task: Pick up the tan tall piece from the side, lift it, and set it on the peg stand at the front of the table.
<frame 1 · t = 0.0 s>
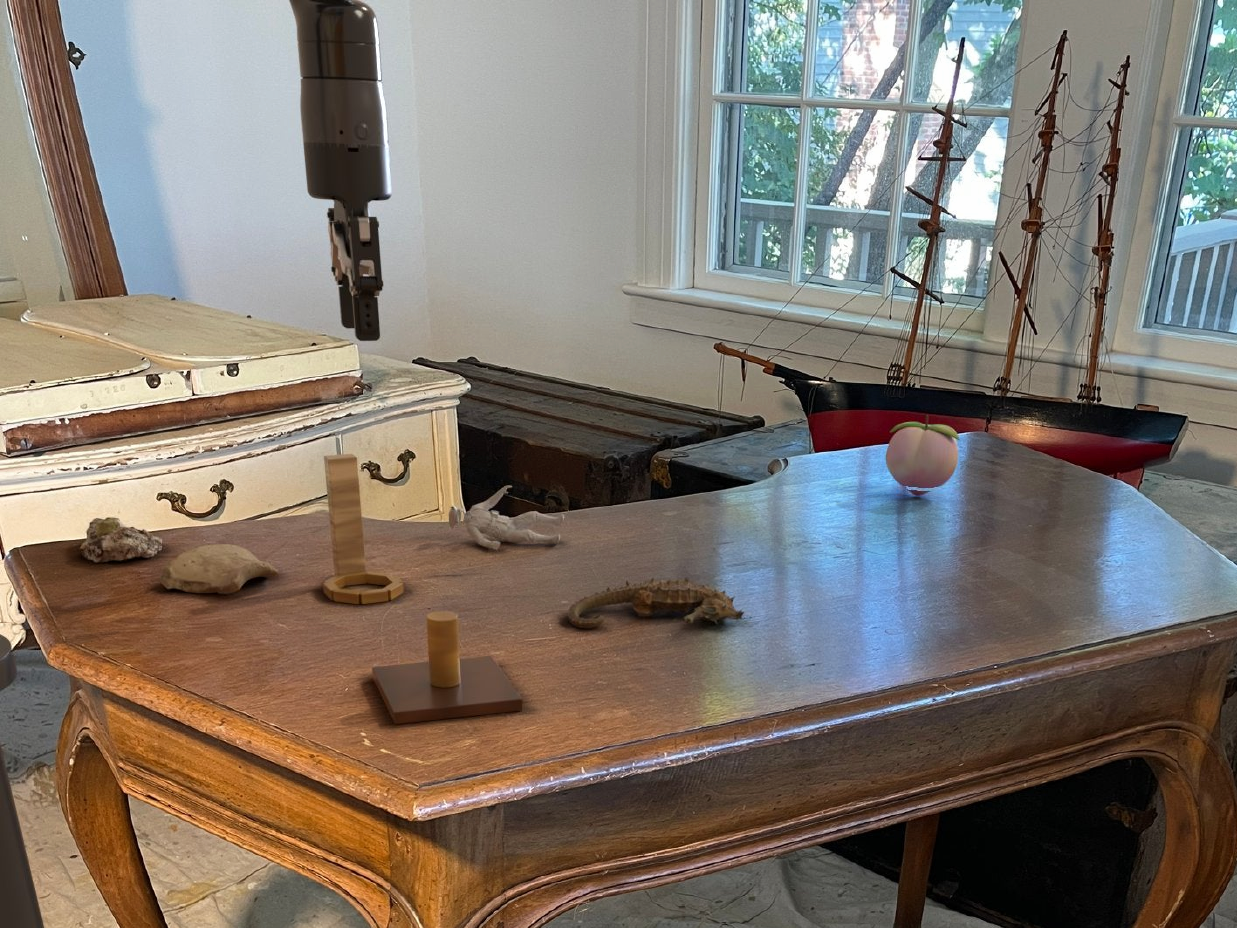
hand: (360, 334, 124), 22 cm above the table, tool pointing down, fingers open, 8 cm apart
pottery shard: (230, 585, 127), on the table
peg stand: (445, 694, 104), on the table
mineral rock: (120, 553, 135), on the table
soldier figure: (507, 543, 143), on the table
tan tall piece: (364, 592, 126), on the table
decorative fruit: (917, 497, 168), on the table
seahorse: (658, 621, 122), on the table
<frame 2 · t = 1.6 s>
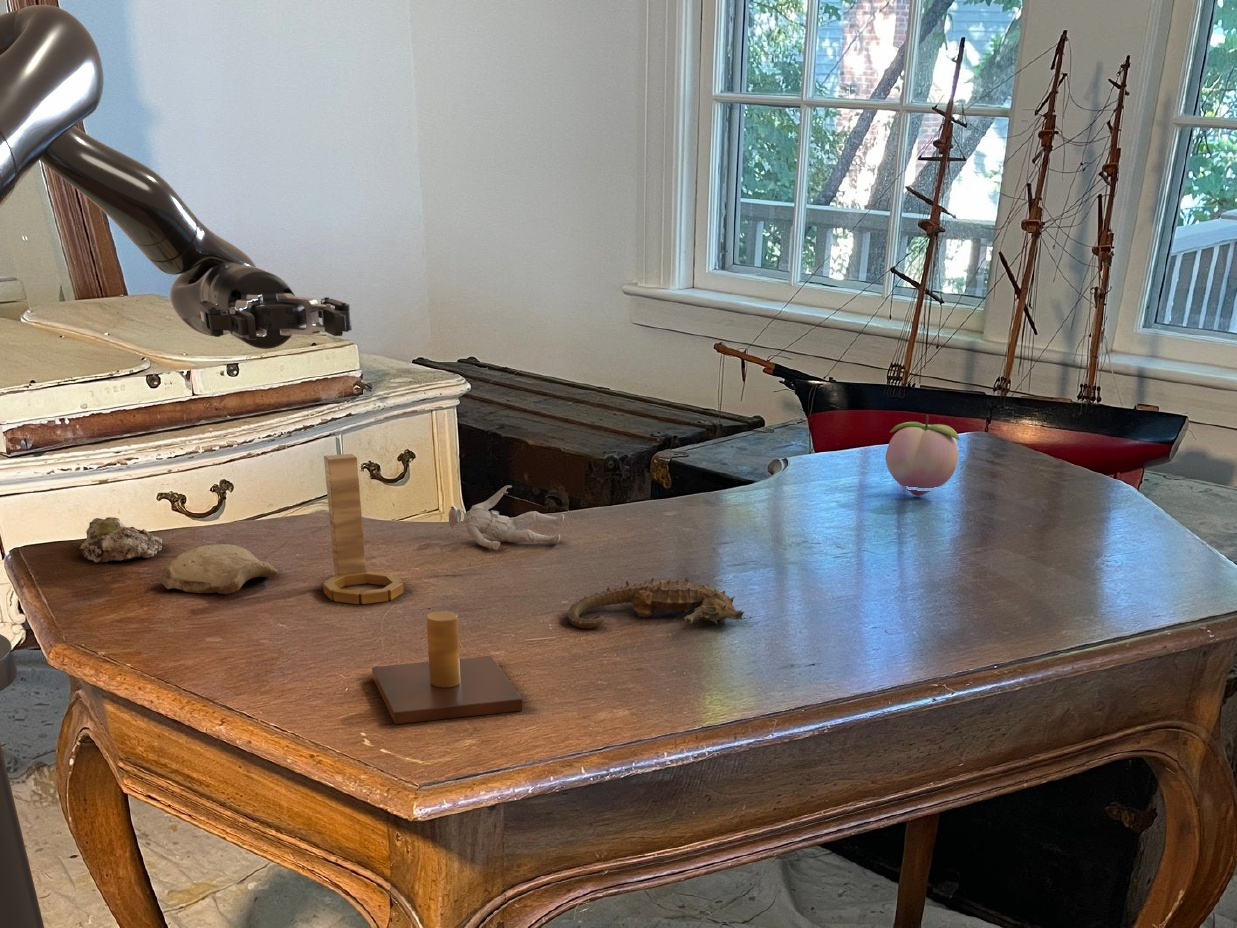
hand: (296, 326, 126), 22 cm above the table, tool horizontal, fingers open, 8 cm apart
nothing on the table moved.
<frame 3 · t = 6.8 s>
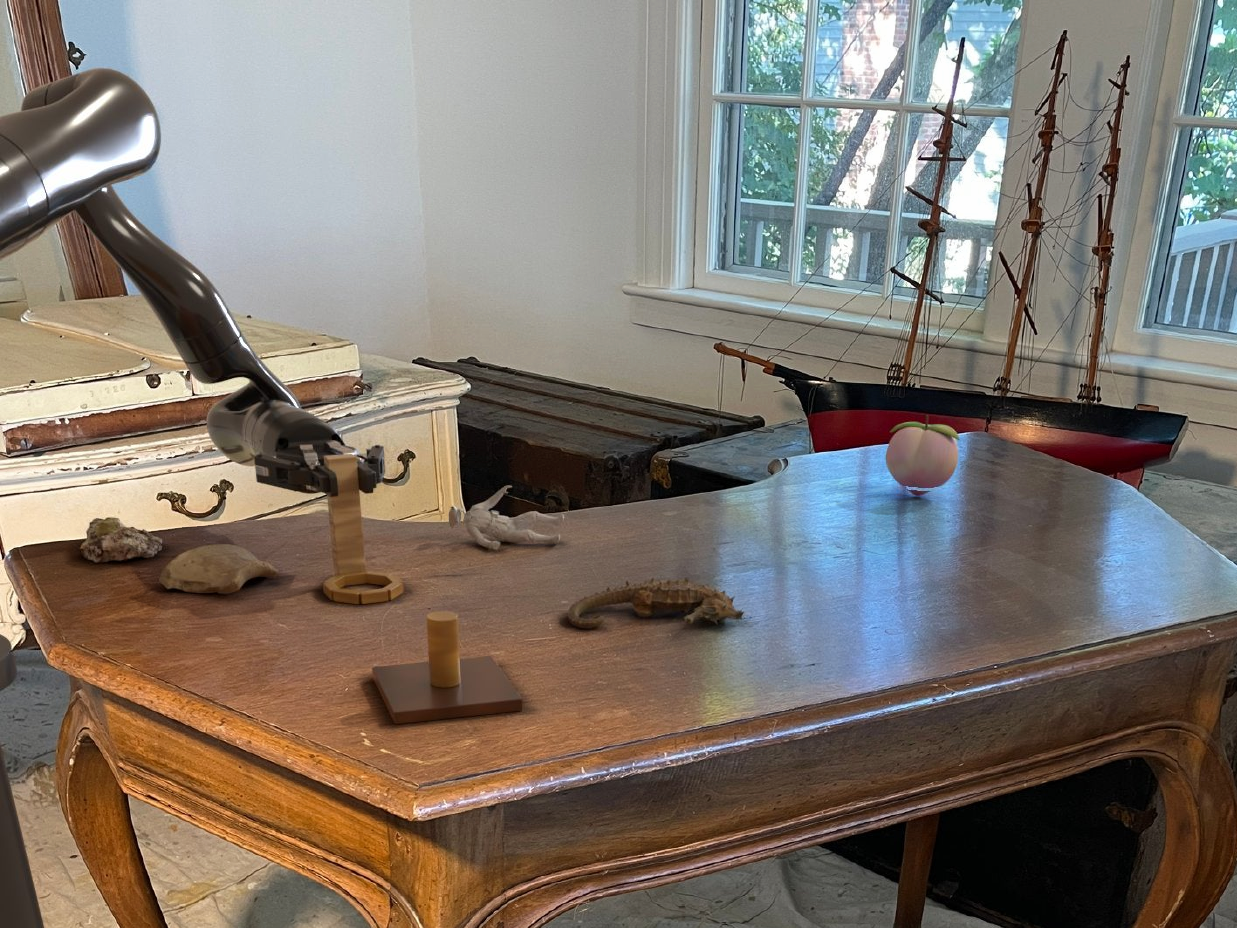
hand: (351, 484, 122), 10 cm above the table, tool horizontal, fingers closed on tan tall piece, 3 cm apart
tan tall piece: (363, 592, 126), on the table, touching gripper
everything else where it was.
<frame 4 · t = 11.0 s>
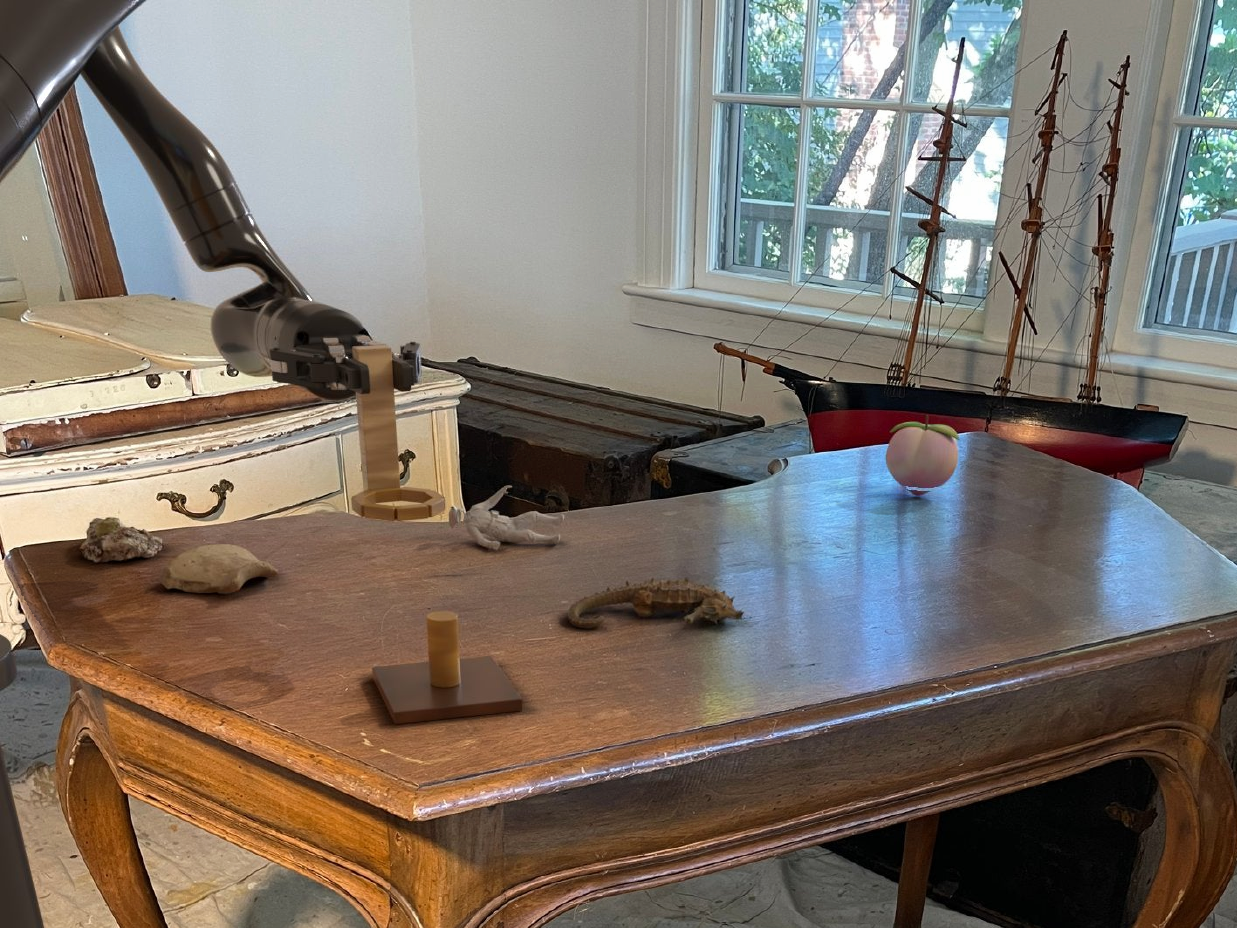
hand: (386, 379, 103), 22 cm above the table, tool horizontal, fingers closed on tan tall piece, 3 cm apart
tan tall piece: (399, 509, 107), point 12 cm above the table, touching gripper
everything else where it was.
when the fingers open (11 cm above the table, at t = 15.7 s): tan tall piece stays where it is, resting on peg stand.
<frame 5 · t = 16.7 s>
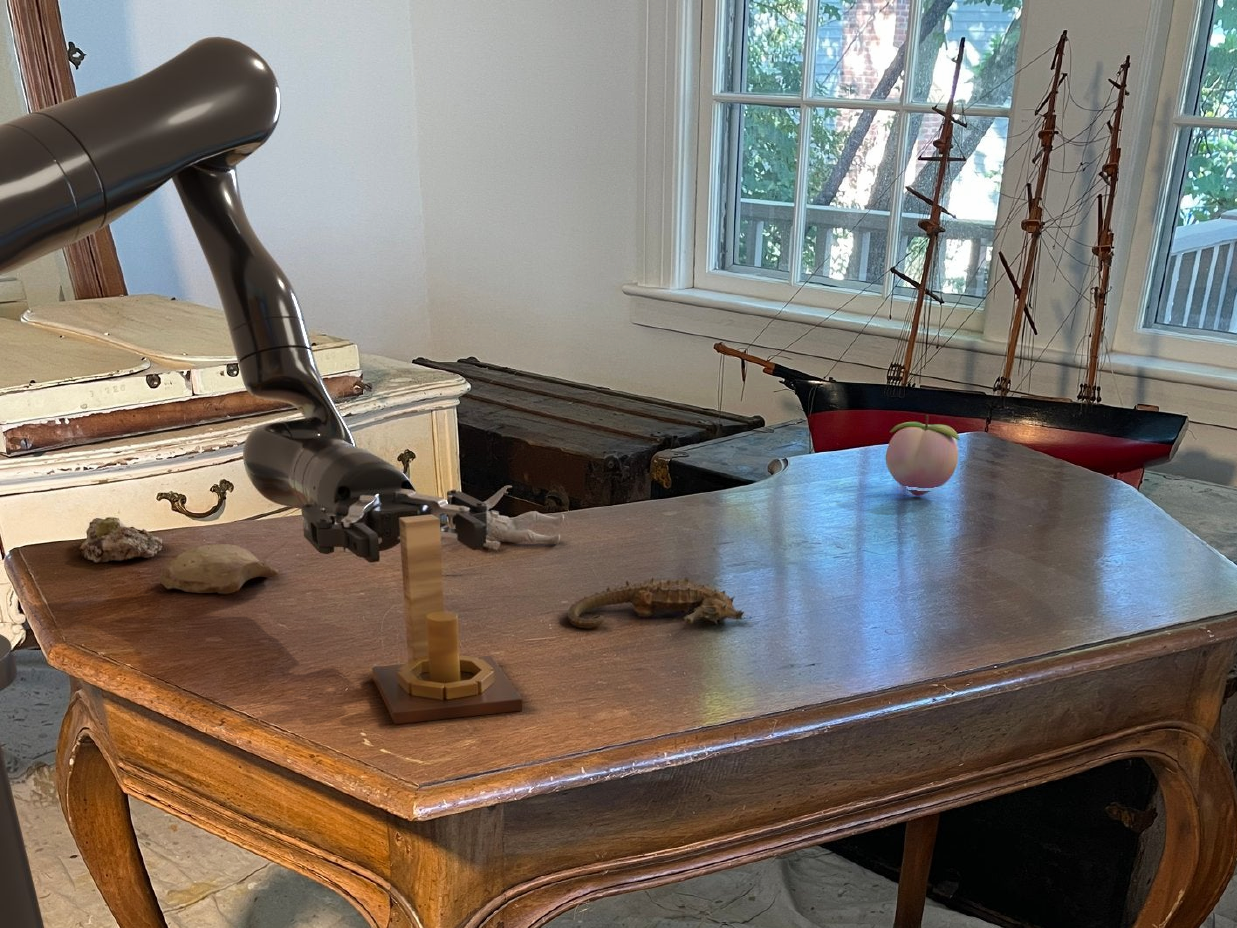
hand: (428, 543, 100), 12 cm above the table, tool horizontal, fingers open, 8 cm apart
tan tall piece: (446, 682, 103), point 1 cm above the table, touching peg stand
everything else where it was.
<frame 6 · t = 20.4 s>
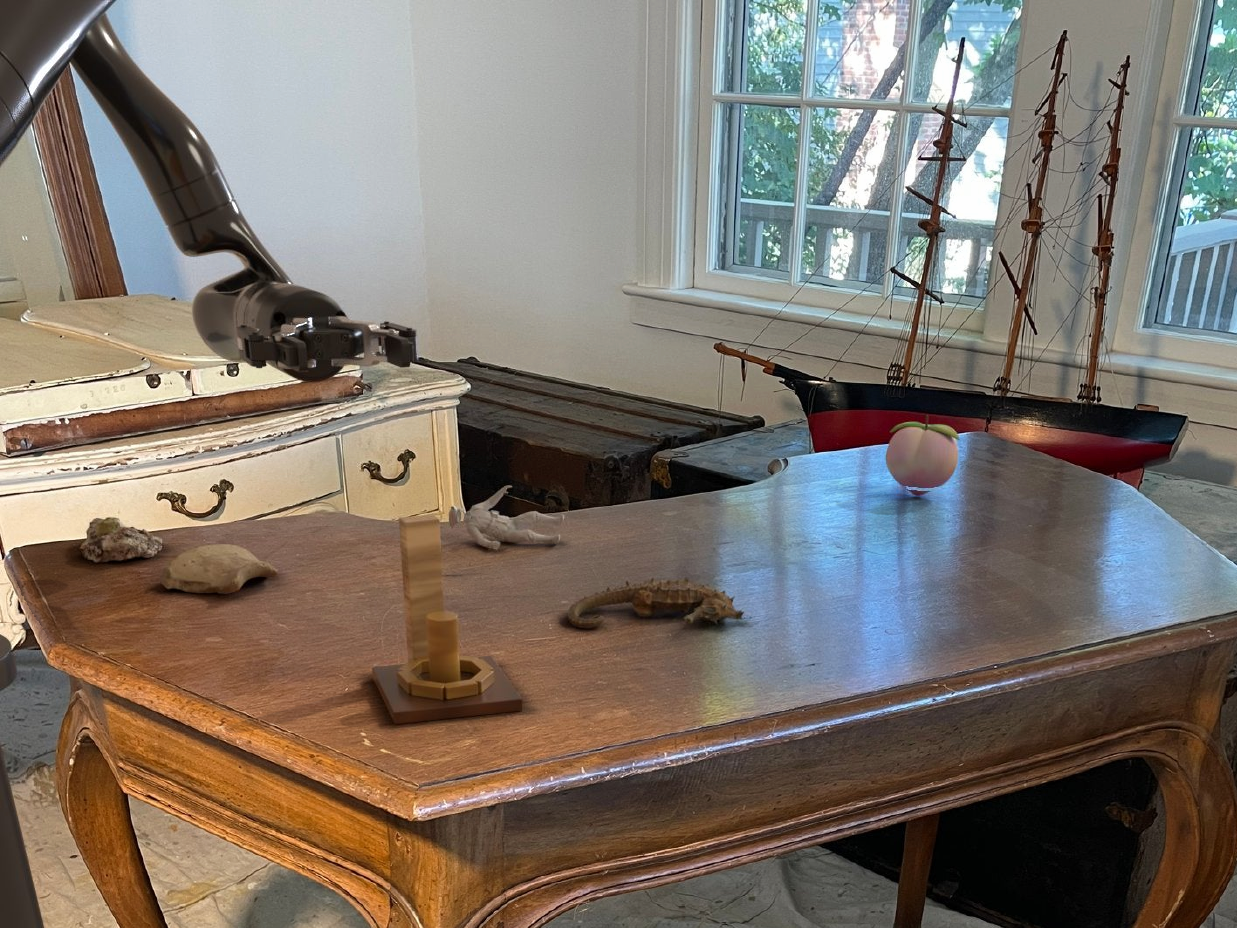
hand: (355, 355, 104), 23 cm above the table, tool horizontal, fingers open, 8 cm apart
nothing on the table moved.
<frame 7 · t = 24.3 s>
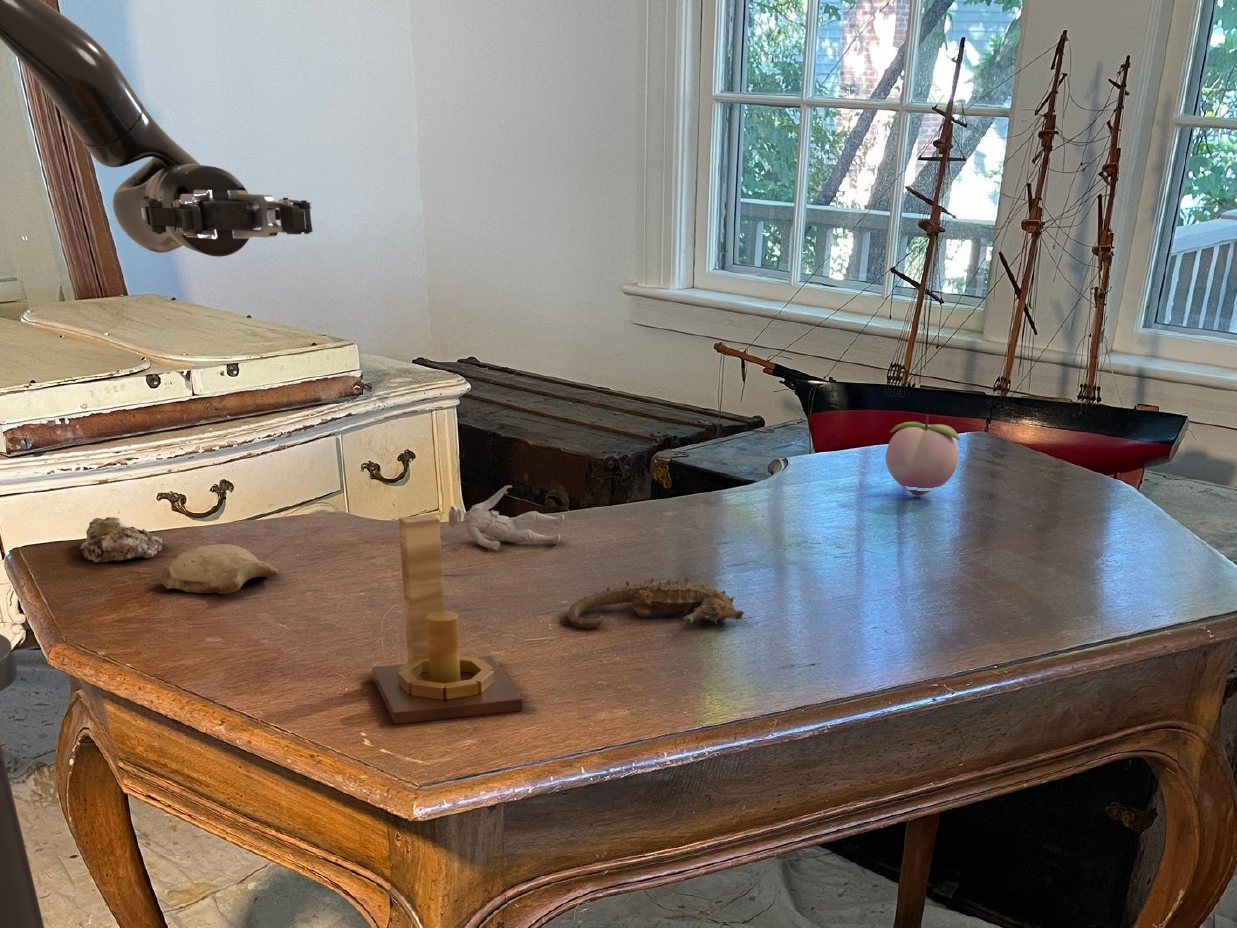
hand: (248, 220, 111), 32 cm above the table, tool horizontal, fingers open, 8 cm apart
nothing on the table moved.
at the end: tan tall piece 0.1 cm off-centre on the peg stand, point 1.0 cm above the peg stand's base; the gripper is holding nothing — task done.
